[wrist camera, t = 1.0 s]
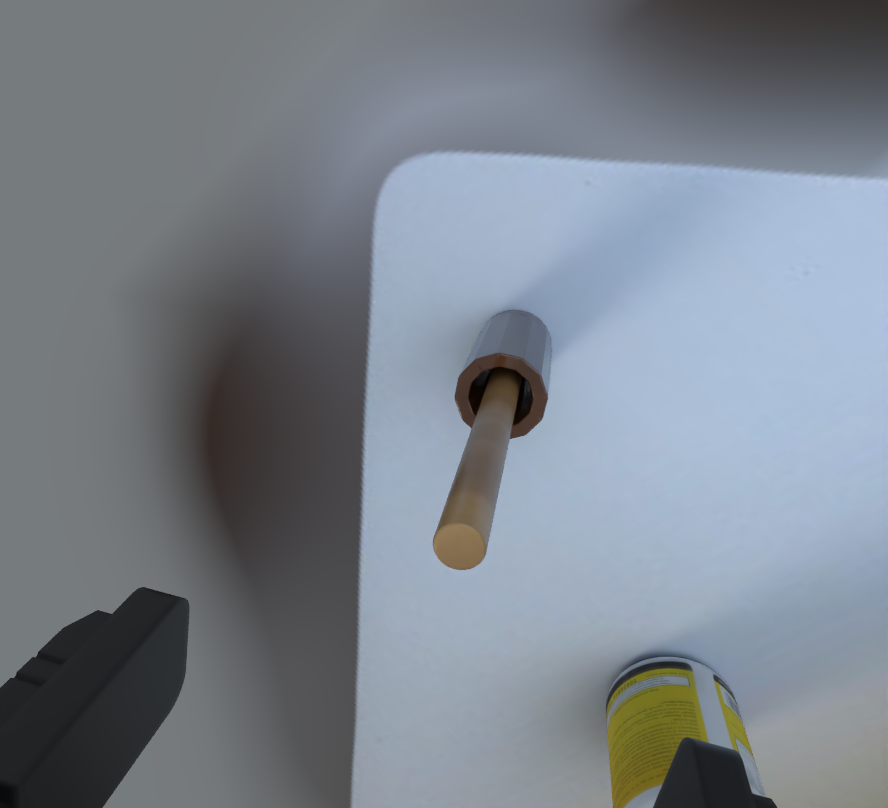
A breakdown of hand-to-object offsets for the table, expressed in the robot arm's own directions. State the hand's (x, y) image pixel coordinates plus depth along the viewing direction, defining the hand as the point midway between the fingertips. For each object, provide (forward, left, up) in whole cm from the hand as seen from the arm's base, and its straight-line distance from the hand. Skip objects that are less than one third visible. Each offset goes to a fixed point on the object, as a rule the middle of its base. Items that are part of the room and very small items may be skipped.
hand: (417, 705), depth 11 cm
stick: (0, 0, -21) cm, 21 cm away
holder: (0, 0, -21) cm, 21 cm away
